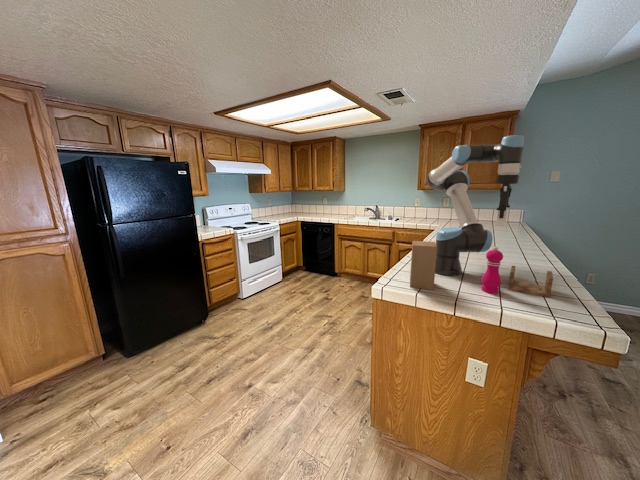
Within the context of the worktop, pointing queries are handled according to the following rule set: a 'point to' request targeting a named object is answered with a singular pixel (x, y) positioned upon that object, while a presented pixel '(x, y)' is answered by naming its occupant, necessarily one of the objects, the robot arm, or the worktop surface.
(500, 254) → the pepper mill
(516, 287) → the holder
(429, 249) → the wooden block
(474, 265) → the worktop surface
